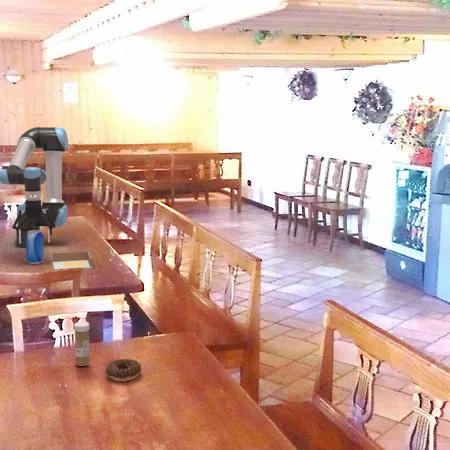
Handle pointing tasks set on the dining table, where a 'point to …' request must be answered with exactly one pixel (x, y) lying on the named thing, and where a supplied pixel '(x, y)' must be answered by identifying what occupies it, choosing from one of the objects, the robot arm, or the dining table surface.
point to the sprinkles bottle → (81, 343)
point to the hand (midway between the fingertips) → (34, 242)
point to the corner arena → (72, 260)
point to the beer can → (35, 247)
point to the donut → (123, 369)
